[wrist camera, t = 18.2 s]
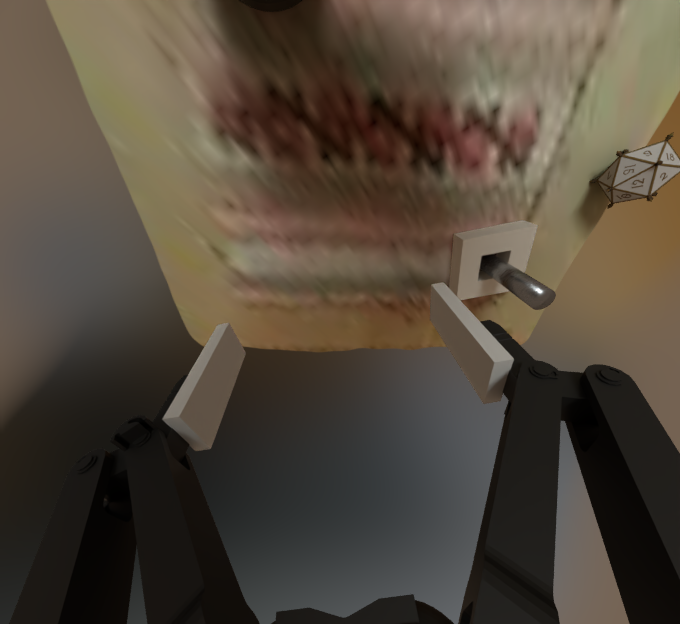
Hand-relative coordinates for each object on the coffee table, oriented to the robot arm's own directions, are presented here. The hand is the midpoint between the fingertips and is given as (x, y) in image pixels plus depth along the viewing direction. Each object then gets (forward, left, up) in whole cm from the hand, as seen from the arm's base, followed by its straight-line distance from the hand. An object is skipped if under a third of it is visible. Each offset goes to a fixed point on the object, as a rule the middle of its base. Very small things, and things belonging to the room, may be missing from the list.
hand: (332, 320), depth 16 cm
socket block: (+13, +28, -29) cm, 42 cm away
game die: (+2, +46, -29) cm, 54 cm away
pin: (+13, +28, -29) cm, 42 cm away
